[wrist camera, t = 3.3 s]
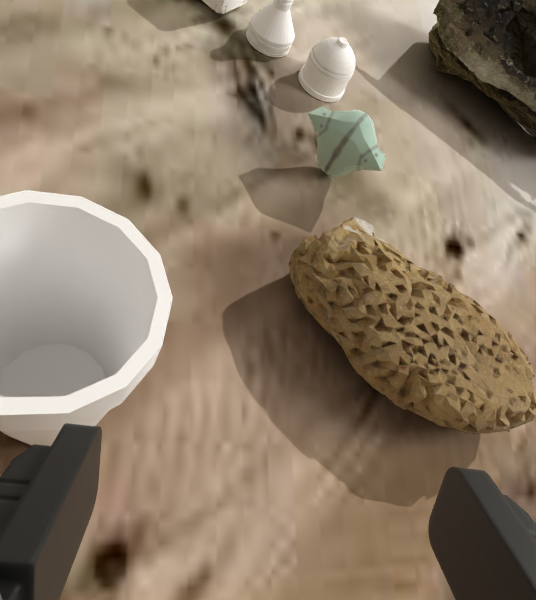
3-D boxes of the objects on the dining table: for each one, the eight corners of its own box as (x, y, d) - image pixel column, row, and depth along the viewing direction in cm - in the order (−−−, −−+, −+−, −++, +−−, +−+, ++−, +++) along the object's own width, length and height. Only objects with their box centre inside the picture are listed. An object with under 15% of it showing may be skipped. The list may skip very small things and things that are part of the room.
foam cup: (160, 360, 32) (206, 257, 21) (89, 502, 27) (104, 459, 16) (22, 298, 31) (-2, 155, 20) (-79, 434, 26) (-183, 340, 15)
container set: (182, -10, 52) (193, -65, 47) (213, -22, 55) (226, -75, 50) (327, 109, 51) (353, 64, 46) (350, 90, 54) (376, 46, 49)
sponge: (256, 300, 38) (453, 510, 31) (294, 222, 33) (540, 453, 26) (351, 259, 47) (522, 417, 40) (393, 193, 42) (597, 360, 35)
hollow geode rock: (550, 195, 67) (641, 108, 64) (596, 185, 54) (711, 76, 51) (400, 59, 68) (482, -33, 65) (410, 19, 55) (512, -98, 52)
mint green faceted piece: (284, 155, 45) (314, 97, 40) (305, 135, 48) (336, 78, 42) (351, 208, 45) (391, 157, 40) (369, 186, 47) (409, 135, 42)
